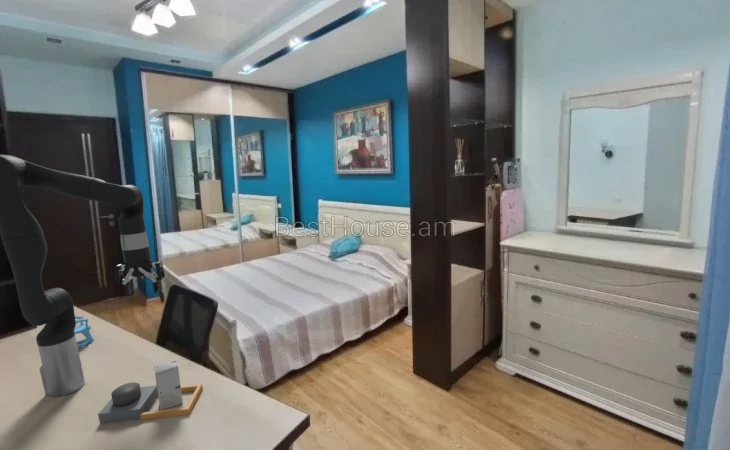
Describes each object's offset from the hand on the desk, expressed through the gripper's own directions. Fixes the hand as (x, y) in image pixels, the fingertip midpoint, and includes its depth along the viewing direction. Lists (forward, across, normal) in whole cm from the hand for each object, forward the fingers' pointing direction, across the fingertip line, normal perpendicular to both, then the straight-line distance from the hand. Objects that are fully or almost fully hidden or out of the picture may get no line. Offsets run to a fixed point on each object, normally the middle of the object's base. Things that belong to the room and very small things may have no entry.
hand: (143, 293), depth 122 cm
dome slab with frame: (+28, +8, -21) cm, 36 cm away
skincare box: (+28, +13, -20) cm, 37 cm away
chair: (+28, -40, +26) cm, 56 cm away
